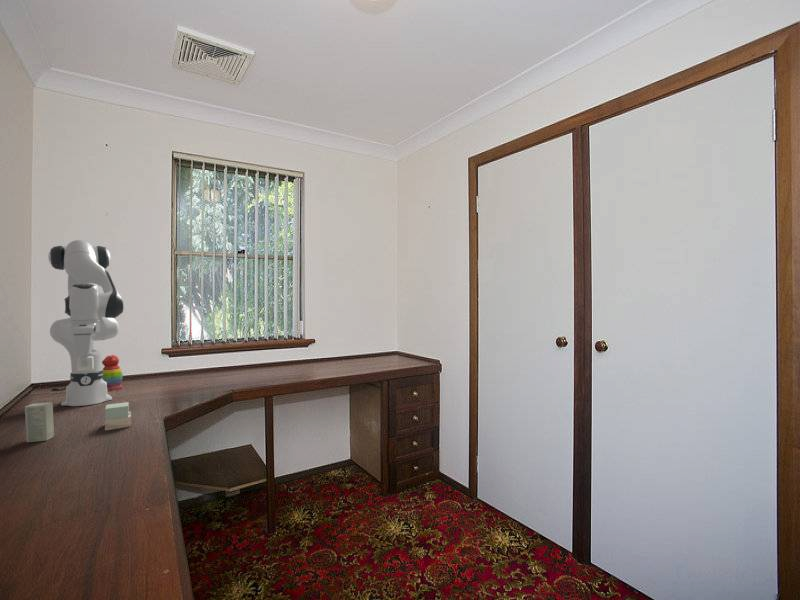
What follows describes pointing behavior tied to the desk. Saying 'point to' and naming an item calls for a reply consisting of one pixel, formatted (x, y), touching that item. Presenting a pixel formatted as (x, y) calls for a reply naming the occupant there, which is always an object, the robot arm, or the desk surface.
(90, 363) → the cream block
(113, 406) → the green tower middle block
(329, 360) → the desk surface
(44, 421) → the skincare box
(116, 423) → the tower base
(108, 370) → the stacking bear
